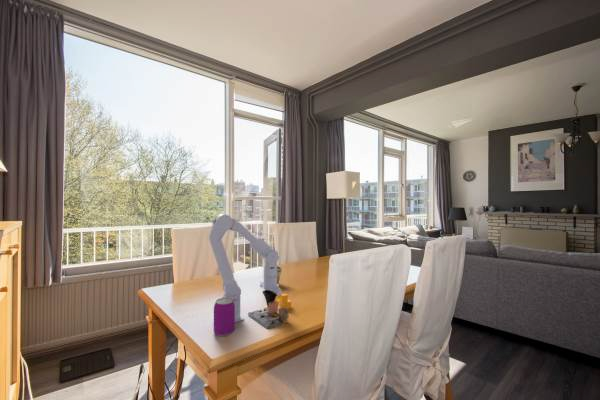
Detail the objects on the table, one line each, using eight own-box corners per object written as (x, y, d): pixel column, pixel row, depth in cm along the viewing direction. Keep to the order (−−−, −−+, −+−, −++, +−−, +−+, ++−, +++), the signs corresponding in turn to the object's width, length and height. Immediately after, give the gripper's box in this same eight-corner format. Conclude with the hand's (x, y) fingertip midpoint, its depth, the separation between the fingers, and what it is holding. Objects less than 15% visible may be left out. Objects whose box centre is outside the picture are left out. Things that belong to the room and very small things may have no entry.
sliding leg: (259, 316, 119) (259, 307, 119) (256, 315, 120) (256, 305, 120) (278, 311, 124) (278, 302, 124) (275, 310, 126) (275, 300, 126)
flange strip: (267, 328, 112) (267, 324, 112) (248, 315, 124) (248, 311, 124) (280, 324, 115) (280, 320, 115) (260, 312, 128) (260, 308, 128)
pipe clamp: (291, 308, 133) (291, 294, 133) (282, 309, 131) (282, 295, 131) (282, 300, 144) (282, 287, 144) (274, 301, 142) (274, 288, 142)
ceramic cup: (280, 288, 162) (280, 270, 162) (263, 287, 163) (263, 270, 163) (282, 281, 175) (282, 264, 175) (266, 281, 176) (266, 264, 176)
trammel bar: (269, 327, 113) (269, 313, 113) (250, 315, 124) (250, 302, 124) (288, 321, 118) (288, 308, 118) (269, 310, 130) (269, 298, 130)
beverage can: (235, 327, 113) (235, 296, 113) (233, 336, 105) (234, 303, 105) (215, 328, 112) (215, 297, 112) (212, 337, 104) (212, 304, 104)
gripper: (287, 278, 123) (287, 310, 123) (269, 271, 134) (269, 300, 134) (273, 281, 118) (273, 314, 119) (256, 273, 130) (256, 303, 130)
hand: (270, 307), depth 126 cm, fingers closed
